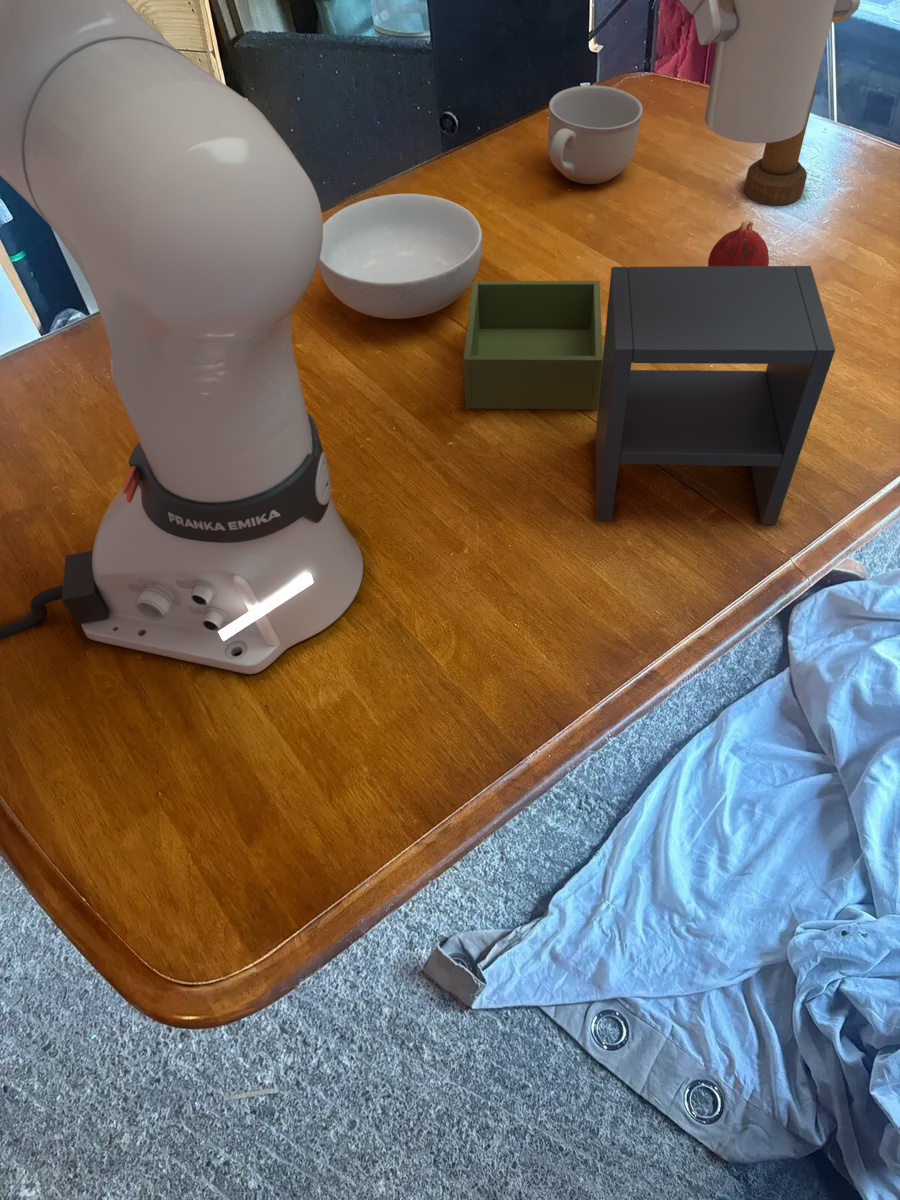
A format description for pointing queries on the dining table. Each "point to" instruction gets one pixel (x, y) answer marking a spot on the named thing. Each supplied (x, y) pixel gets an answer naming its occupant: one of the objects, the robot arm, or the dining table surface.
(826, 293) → the dining table surface
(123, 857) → the dining table surface
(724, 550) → the dining table surface
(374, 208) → the cereal bowl
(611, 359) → the shelf
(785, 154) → the mortar and pestle
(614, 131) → the teacup
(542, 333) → the bin
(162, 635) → the robot arm
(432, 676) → the dining table surface
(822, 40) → the jar
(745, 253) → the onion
